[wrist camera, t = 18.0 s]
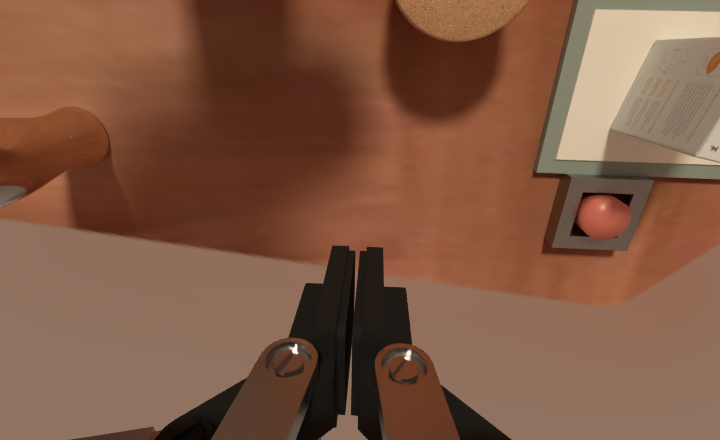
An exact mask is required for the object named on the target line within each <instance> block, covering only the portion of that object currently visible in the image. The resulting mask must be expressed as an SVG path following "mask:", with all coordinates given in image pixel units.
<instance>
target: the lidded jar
mask: <svg viewBox="0 0 720 440" xmlns="http://www.w3.org/2000/svg"><path fill="white" fill-rule="evenodd" d="M395 2H396V4H397V5H398V7H399V9H400V11H401V13H402V14H403V15H404V17H405V18H406V19H407V20H408V22H410V23H411V24H412V25H413V26H414V27H415V28H416V29H418V30H419V31H421V32H422V33H424V34H426V35H428V36H430V37H433V38H435V39H438V40H442V41H447V42H467V41H473V40H477V39H480V38H483V37H486V36H488V35H490V34H492V33H494V32H496V31H498V30H499V29H501V28H502V27H504V26H505V25H507V24H508V23H509V22H510V21H511V20H512V19H514V18H515V17H516V16H517V15H518V14H519V13H520V12H521V10H522V9H523V8H524V7H525V6H526V5H527V3H528V2H529V0H395Z"/></svg>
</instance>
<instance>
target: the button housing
mask: <svg viewBox="0 0 720 440" xmlns="http://www.w3.org/2000/svg"><path fill="white" fill-rule="evenodd" d="M654 181H655V180H653V179H651V178H649V177H644V176H616V175H588V174H562V176H561V179H560V183H559V187H558V190H557V194H556V197H555V201H554V205H553V208H552V212H551V216H550V219H549V223H548V226H547V230H546V234H545V237H544V239H545V241H546V242H547V243H548V244H549V245H550V246H551V247H552V248H572V249H596V250H619V251H627V250H628V247H629V245H630V242H631V239H632V237H633V234H634V232H635V229H636V227H637V224H638V222H639V219H640V217H641V214H642V212H643V209H644V207H645V204H646V202H647V199H648V196H649V194H650V191H651V189H652V186H653V184H654ZM583 192H590V193H617V194H619V196H618V200H620V201H621V202H623V203H625V204H626V205H627V206H628V207H629V209H630V211H631V221H630V223H629V225H628V227H627V228H626V229H625V230H624V231H623V232H622V233H621V234H620V235H618V236H616V237H614V238H612V239H608V240H596V239H593V238H591V237H590V236H589V235H587V234H586V233H585V232H584V231H583V230H582V229H581V228H572V226H573V223H574V220H575V217H576V213H577V210H578V207H579V204H580V200H581V197H582V194H583Z"/></svg>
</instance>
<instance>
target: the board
mask: <svg viewBox="0 0 720 440" xmlns="http://www.w3.org/2000/svg"><path fill="white" fill-rule="evenodd" d="M705 37H720V0H574V3H573V7H572V11H571V15H570V19H569V24H568V28H567V32H566V36H565V40H564V45H563V49H562V53H561V57H560V61H559V65H558V70H557V74H556V78H555V82H554V86H553V91H552V95H551V99H550V103H549V107H548V111H547V116H546V120H545V124H544V128H543V132H542V137H541V141H540V145H539V149H538V153H537V157H536V162H535V166H534V171H535V172H536V173H561V174H588V175H616V176H644V177H672V178H700V179H720V163H718V162H714V161H710V160H705V159H701V158H697V157H693V156H689V155H686V154H683V153H680V152H677V151H674V150H671V149H668V148H665V147H662V146H659V145H656V144H653V143H650V142H647V141H645V140H641V139H638V138H635V137H632V136H629V135H626V134H623V133H620V132H616V131H613V130H611V127H612V125H613V123H614V121H615V119H616V117H617V115H618V113H619V111H620V109H621V107H622V105H623V103H624V101H625V99H626V97H627V95H628V94H629V92H630V90H631V88H632V86H633V84H634V82H635V80H636V78H637V76H638V74H639V72H640V70H641V68H642V66H643V64H644V62H645V60H646V59H647V57H648V55H649V53H650V51H651V49H652V47H653V45H654V43H655V41H656V40H667V39H685V38H705Z"/></svg>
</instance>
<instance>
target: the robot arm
mask: <svg viewBox="0 0 720 440" xmlns="http://www.w3.org/2000/svg"><path fill="white" fill-rule="evenodd" d="M354 289H355V251H350V250H349V246H332V250H331V254H330V258H329V262H328V266H327V271H326V275H325V279H324V283H323V284H316V283H307V284H306V285H305V287H304V290H303V294H302V297H301V300H300V303H299V306H298V309H297V313H296V316H295V319H294V322H293V325H292V328H291V332H290V335H289V338H286V339H281V340H278V341H276V342H274V343H272V344H271V345H269V346H268V347H267V348H266V349H265V350H264V351H263V352H262V354H261V355H260V357H259V359H258V360H257V362H256V364H255V365H254V367H253V369H252V371H251V372H250V374H249V376H248V377H247V378H246V379H244V380H242V381H240V382H239V383H237V384H235V385H234V386H232V387H230V388H228V389H227V390H225V391H223V392H222V393H220V394H218V395H216V396H215V397H213V398H212V399H210V400H208V401H206V402H205V403H203V404H201V405H200V406H198V407H196V408H194V409H192V410H191V411H189V412H187V413H186V414H184V415H182V416H180V417H179V418H177V419H175V420H174V421H173V422H171V423H170V424H168V425H167V426H166V427H164V429H163V430H161V431H155V430H154V427H148V428H142V429H136V430H129V431H123V432H116V433H109V434H103V435H97V436H91V437H84V438H78V439H72V440H321V437H322V436H323V435H325V434H326V433H327V432H328V431H330V430H331V429H332V428H333V427H336V426H337V417H338V414H339V415H345V411H346V400H347V389H348V378H349V367H350V357H351V347H352V391H351V393H352V395H351V415H356V416H358V429H359V431H360V432H361V433H362V434H363V435H364V436H365V437H366V438H367V439H368V440H511V439H510V438H509V437H507V436H506V435H505V434H503V433H502V432H501V431H500V430H498V429H497V428H496V427H494V426H493V425H492V424H491V423H489V422H488V421H487V420H485V419H484V418H483V417H482V416H480V415H479V414H478V413H476V412H475V411H474V410H473V409H471V408H470V407H469V406H467V405H466V404H465V403H464V402H462V401H461V400H460V399H458V398H457V397H456V396H455V395H453V394H452V393H450V392H449V391H448V390H447V389H446V388H444V387H443V386H442V385H441V384H440V382H439V379H438V376H437V373H436V370H435V368H434V365H433V362H432V361H431V359H430V357H429V356H428V355H427V354H426V353H425V352H424V351H423V350H421V349H419V348H418V347H416V346H413V345H412V340H411V331H410V322H409V312H408V303H407V294H406V288H401V287H384V272H383V248H379V247H367V251H360V258H359V269H358V279H357V290H356V300H355V311H354ZM352 336H353V337H352Z"/></svg>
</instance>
